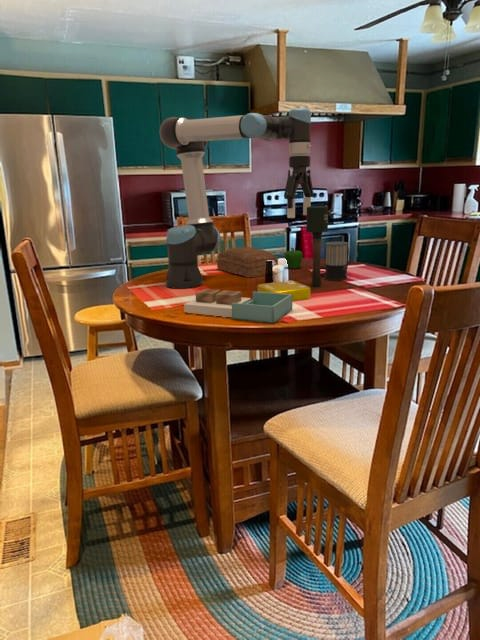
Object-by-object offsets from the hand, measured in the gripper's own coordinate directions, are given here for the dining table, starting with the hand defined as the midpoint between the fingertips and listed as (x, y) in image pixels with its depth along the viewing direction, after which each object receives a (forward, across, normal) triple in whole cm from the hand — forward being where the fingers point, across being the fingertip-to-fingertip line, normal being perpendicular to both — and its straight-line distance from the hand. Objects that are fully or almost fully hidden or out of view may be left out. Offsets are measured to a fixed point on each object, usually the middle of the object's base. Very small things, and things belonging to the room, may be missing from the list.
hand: (299, 216), depth 176 cm
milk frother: (+27, +22, -4) cm, 35 cm away
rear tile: (+24, -42, +13) cm, 50 cm away
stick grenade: (+27, +4, -6) cm, 28 cm away
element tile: (+27, -16, -2) cm, 32 cm away
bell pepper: (+27, +37, +20) cm, 50 cm away
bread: (+28, +21, +36) cm, 50 cm away
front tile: (+24, -41, +5) cm, 48 cm away
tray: (+27, -40, -7) cm, 48 cm away
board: (+27, -41, +9) cm, 50 cm away
